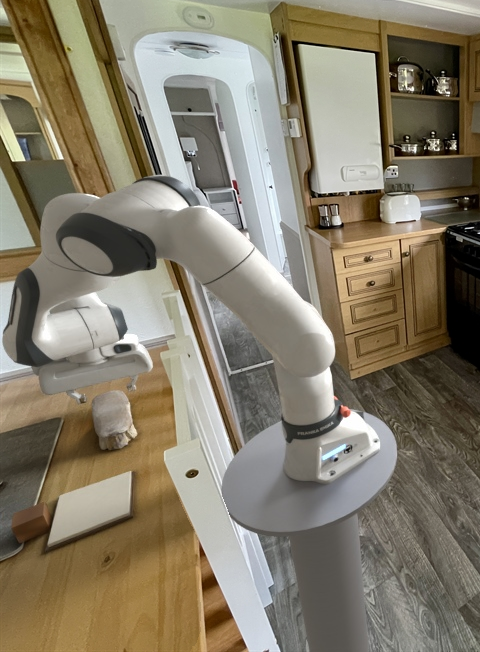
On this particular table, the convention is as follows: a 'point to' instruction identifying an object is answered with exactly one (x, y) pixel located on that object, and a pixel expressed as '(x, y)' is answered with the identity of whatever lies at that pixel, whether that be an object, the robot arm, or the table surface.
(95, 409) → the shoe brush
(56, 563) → the table surface
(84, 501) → the tile
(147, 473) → the table surface
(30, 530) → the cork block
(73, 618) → the table surface
